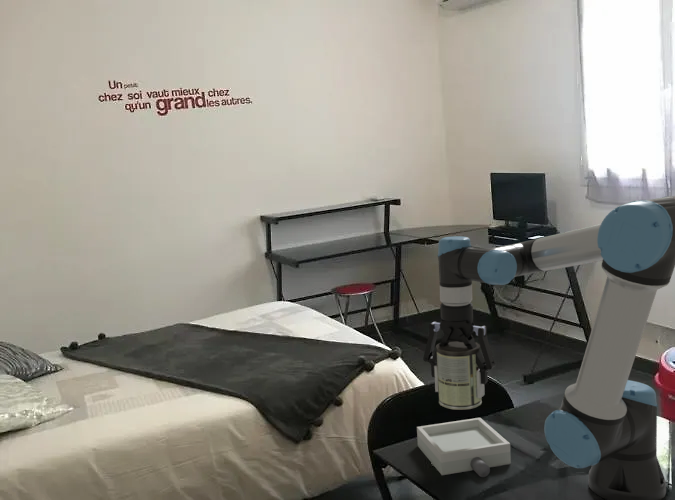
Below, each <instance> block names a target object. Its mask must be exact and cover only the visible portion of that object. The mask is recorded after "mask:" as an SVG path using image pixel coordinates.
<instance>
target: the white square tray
mask: <svg viewBox="0 0 675 500" xmlns="http://www.w3.org/2000/svg"><path fill="white" fill-rule="evenodd" d="M416 434H417V435H416V436H417V437H416V439H417V447H418V448H419V449H420V450H421V452H422V453H423V454H424V455H425V457H426V458H427V459H428V460H429V461H430V463H431V464H432V465H433V466H434V467H435V469H436V470H437V471H438V472H439V473H440V475H441V476H445V475H451V474H458V473H462V472H464V473H465V472H470V471H474V472H475V473H476V474H477V475H478V476H479V477H481V478H486V477H487V476H488V475H489V474H490V473H491V469H490V468H494V467H501V466H507V465H511V464H512V462H511V461H512V460H511V459H512V458H511V443H510V442H509V441H508V440H507V439H506V438H504V437H503V436H502V435H501V434H500V433H498V431H496V429H494V428H493V427H492V426H491V425H489V423H487V421H485V420H484V419H482V418H481V417H475V418H469V419H461V420H456V421H448V422H442V423H434V424H428V425H421V426H416Z"/></svg>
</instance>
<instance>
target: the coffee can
mask: <svg viewBox="0 0 675 500" xmlns="http://www.w3.org/2000/svg"><path fill="white" fill-rule="evenodd" d="M440 343H441V342H439V343H437V344H435V351H436V350H437V367H438V387H439V392H438V404H439V405H440V406H442V407H444V408H446V409H450V410H459V411H460V410H471V409H475V408H478V407H479V406H481V405H482V403H483V401H482V397H481V398H477V373H476V371H477V370H479V367H478V366H477V364H476V355H475V353H478V352H479V350H480V351H481V347H480V344H479V342H477V341H475V343H476V345H477V347H475V348H474V349H468V348H467V346H465V345H464V343H463V342H458V341H449V343H448V344H447V345H445V346H439V344H440Z"/></svg>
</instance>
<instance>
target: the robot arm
mask: <svg viewBox="0 0 675 500" xmlns="http://www.w3.org/2000/svg"><path fill="white" fill-rule="evenodd" d="M437 250H438V251H437V258H438V275H439V276H438V278H439V301H440V302H441V304H440V305H439V307H440V308H439V309H440V318H441V320H440V322H437V321H433V322H431V323H429V324H428V331H429V333H428V337H427V340H426V346H425V349H424V354H423V357H422V359H423V361H424V362H427V363H429V364H430V372H431V377H432V378H434V389H435V391H434V392H435V393H439V387H438V367H437V350H436V349H435V348H436V342H437V338H438V333H439V331H440V330H441V331H442V333H443V336H442V338H441V341H440V342H439V343H440V344H439V343H438V344H439V346H445V345H447V344H448V343H449V341H458V342H463V343H464V345H465V346H467V348H468V349H474V348H475V347H477V345H476V343H475V342H476V340H475V338H474V336H473V333H474V332H475V336H477V339H478V344H479V345H480V350H479V352H478V353H475V355H476V364H477V366H478V367H479V370H477V371H476V373H477V398H481V399H482V397H484V396H485V395H486V394H485V392H486V391H485V385H486V384H487V383H488V381H489V380H488V379H489V377H488V375H489V373H488V371H489V370H492V369H493V368H494V367H495V366H496V362H495V358H494V355H493V352H492V349H491V345H490V343H489V339H488V335H487V334H488V333H487V332H488V331H487V330H488V328H487V326H486V325H482V326H479V325H475V323H474V307H473V305H474V304H473V303H472V301H473V282H479V283H484V284H487V285H492V286H495V285H498V286H499V285H501V286H504V285H507V284H509V283H511V281H512V280H513V279H514V278H516V277H521V276H526V275H530V274H536V273H541V272H546V271H551V270H558V269H564V268H570V267H574V266H580V265H586V264H591V263H597V262H601V268H602V270H603V272H604V273H605V274H606V279H605V284H604V286H603V290H602V294H601V297H600V301H599V304H598V307H597V310H596V314H595V318H594V321H593V324H592V327H591V331H590V335H589V338H588V341H587V345H586V348H585V351H584V355H583V359H582V361H581V364H580V365H581V366H580V369H579V372H578V376H577V379H576V382H575V383H572V384H570V385H568V386H567V387H566V389H565V390H564V393H563V398H562V401H561V404H560V407H559V408H558V409H556V410H553V411H552V412H551V413H549V415H548V416H547V417H546V419H545V421H544V426H543V427H544V429H543V430H544V431H543V432H544V436H545V440H546V442H547V443H548V445H549V448H550V450H551V452H553V454H554V455H555V456H556V457H557V459H559V460H560V461H561V462H562V463H564V464H565V465H567V466H569V467H572V468H575V469H585V468H588V467H590V466H591V468H590V469H589V472H588V486H589V489H590V490H591V492H593V493H594V494H596V495H597V496H599V497H600V498H602V499H605V500H663V499H665V496H666V494H667V482H666V480H665V476H664V474H663V470H662V467H661V465H660V463H659V460H658V459H659V458H658V456H657V455H658V454H657V451H658V449H657V446H658V445H657V443H658V442H657V437H658V435H657V431H658V430H657V428H658V425H657V424H658V420H657V419H658V413H657V411H658V403H657V394H656V391H655V389H654V388H653V387H651V386H649V385H648V384H645V383H642V382H639V381H635V380H629V377H630V374H631V371H632V367H633V364H634V363H635V359H636V356H637V353H638V350H639V346H640V343H641V340H642V337H643V334H644V331H645V328H646V325H647V322H648V318H649V315H650V312H651V310H652V307H653V304H654V301H655V297H656V295H657V291H658V290H660V289H663V288H664V287H666V286H669V284H670V283H671V280H672V279H671V278H672V275H673V273H674V269H675V195H668V196H664V197H658V198H657V197H656V198H652V199H638V200H633V201H629V202H626V203H625V204H621V205H619V206H617V207H615V208H613V209H612V210H610V212H609V213H608V214H607V215H606V216H605V217H604V218H603V220H602V222H601V223H599V224H594V225H591V226H587V227H583V228H579V229H578V228H577V229H573V230H569V231H566V232H560V233H557V234H553V235H549V236H544V237H540V238H535V239H531V240H530V239H529V240H525V241H522V242H518V243H517V242H516V243H513V244H506V245H500V246H494V247H490V248H483V247H481V248H479V247H473V246H472V244H471V239H470V237H467V236H459V235H457V236H456V235H454V236H446V237H442V238H440V239H439V241H438V248H437ZM434 350H435V352H434Z"/></svg>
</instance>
